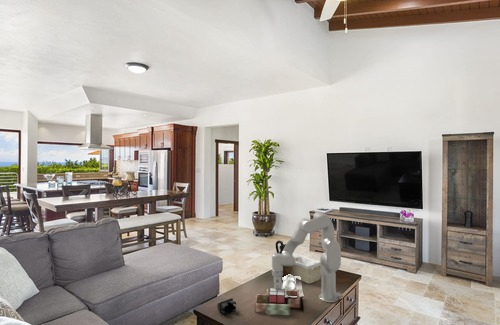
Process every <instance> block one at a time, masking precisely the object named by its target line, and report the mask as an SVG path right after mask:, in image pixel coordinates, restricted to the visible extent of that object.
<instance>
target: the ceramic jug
mask: <svg viewBox="0 0 500 325" xmlns="http://www.w3.org/2000/svg"><path fill="white" fill-rule="evenodd" d="M283 242H284V241H282V240H277V241H275V251H276V253H280V254H282V251H283V249H284V247H285V245H286V244H287V243H285V244H284V243H283ZM279 244H280V246H279ZM290 273H291V266H284V265H283V276H282V277H284V276H286V275H288V274H290Z"/></svg>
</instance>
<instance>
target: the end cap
mask: <svg viewBox="0 0 500 325" xmlns="http://www.w3.org/2000/svg"><path fill="white" fill-rule="evenodd" d="M236 305H237V302H236V301H235V300H234V298H233V297H230V298H228V299H224V300H222V301H219V302H218V303H217V311H218V312H219V314H221V315H222V316H223V315H224V316H223V317H225V315H226V316H229V315H230V313H231V314H233V313H235V312H236V310H237V306H236Z"/></svg>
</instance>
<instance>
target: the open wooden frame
mask: <svg viewBox="0 0 500 325" xmlns="http://www.w3.org/2000/svg"><path fill="white" fill-rule="evenodd" d="M287 295H288V296H297V298H287V304H286V303H285V304H269V288H266V293H265V294H261V293H256V294H255V299H254V313H263V314H264V313H265V315H274V316H276V315H279V316H290V315H291V308H297V309H299V308H301V296H300V291H299V290H296V289H295V290H293V289H292V290H290V289H286V296H287Z"/></svg>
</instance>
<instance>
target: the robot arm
mask: <svg viewBox="0 0 500 325" xmlns="http://www.w3.org/2000/svg"><path fill="white" fill-rule="evenodd" d="M320 230H321V246H322V249H323V250H324V252H323V253H321V255H320V258H319V262H321V268H320V280H321V283H320V286H321V288H320V292H321V293H320V294H319V295H318V298H319V299H320V300H321V301H323V302H326V303H336V302H338V300H339V297H340V298H343V297H344V294H343V293H341V292H337V291H336V287H337V286H336V285H337V284H336V278H337V277H336V276H337V275H336V272H337V271H338V270H340V268H341V265H342V253H341V251H342V250H341V249H342V248H341V245H340V243H339V242H338V241H337V240H336V239H335V238H336V237H335V228H334V224H333V221H332V220H331V217H330V216H329V215H328V214H326V213H324V212H322V211H316V212H314V214H313V218H311V219H308V218H301V219H300V220H299V222H298V224H297V225H296V228H295V230H294V232H293V234H292V235H291V237H290V238H289V240H288V241H287V243H285V244H286V245H285V244H284V245H285V247H284V249H283V251H282V254H280V253H277V252H276V253H275V252H274V253H273V254H272V255H271V275H272V276H273V288H274V289H277V290H278V289H279V290H281V289H283V288H282V287H283V286H282V284H283V281H282V276H283V265H284V266H292V265H294V264H295V261H296V260H295V258H294V255H293V254H294V252H295V250H296V248H297V247H299V246H301V245H302V244H304V243H305V241H306V238H307V236H308V234H313V233H315V232H318V231H320Z"/></svg>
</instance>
